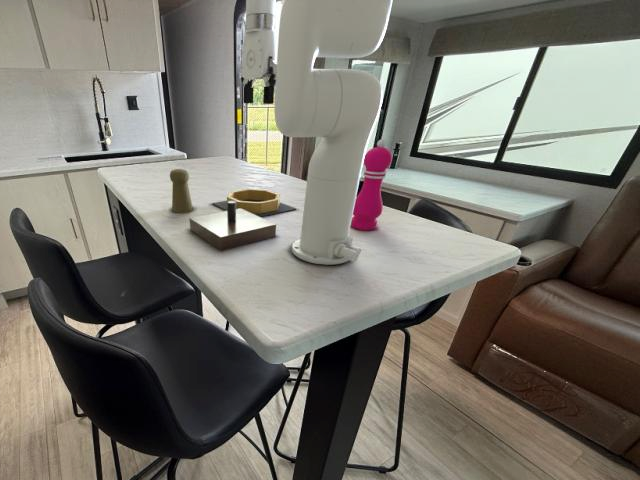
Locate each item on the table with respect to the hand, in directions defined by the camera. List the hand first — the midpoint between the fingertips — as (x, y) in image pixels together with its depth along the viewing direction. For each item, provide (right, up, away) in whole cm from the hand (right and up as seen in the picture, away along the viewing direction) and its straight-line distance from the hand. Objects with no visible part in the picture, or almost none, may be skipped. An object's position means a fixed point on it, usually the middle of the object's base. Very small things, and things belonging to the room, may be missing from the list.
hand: (257, 103), depth 92 cm
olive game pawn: (-22, -30, +1) cm, 38 cm away
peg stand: (-7, -41, -15) cm, 44 cm away
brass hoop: (-1, -27, +3) cm, 27 cm away
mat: (-1, -29, +4) cm, 29 cm away
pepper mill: (+26, -38, -10) cm, 47 cm away
